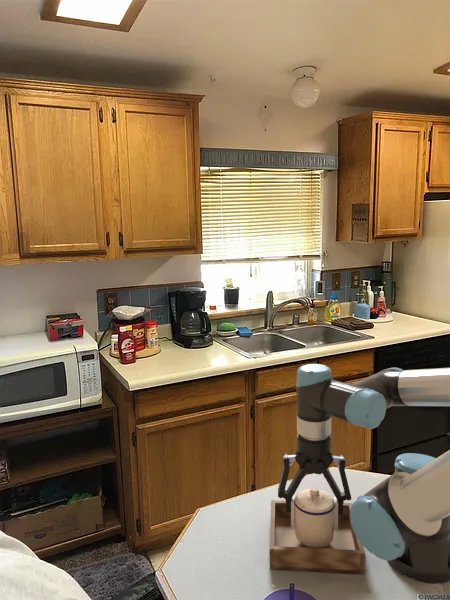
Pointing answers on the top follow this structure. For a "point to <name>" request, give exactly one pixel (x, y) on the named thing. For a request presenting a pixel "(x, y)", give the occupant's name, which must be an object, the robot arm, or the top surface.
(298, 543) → the walnut box
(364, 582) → the top surface
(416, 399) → the robot arm
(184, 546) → the top surface
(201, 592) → the top surface
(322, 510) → the teacup with lid
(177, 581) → the top surface
